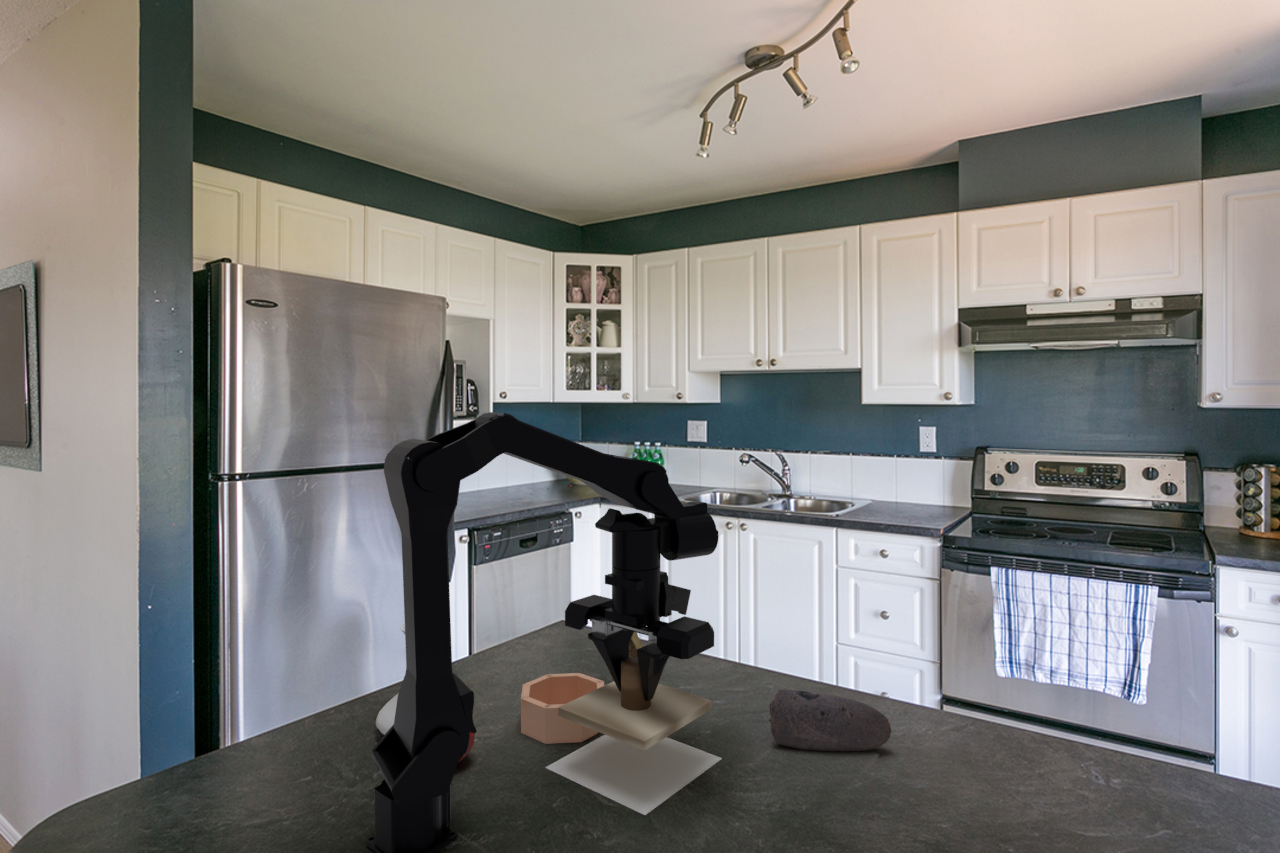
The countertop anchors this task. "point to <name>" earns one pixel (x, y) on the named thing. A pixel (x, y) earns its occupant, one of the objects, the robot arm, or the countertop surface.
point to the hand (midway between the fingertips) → (635, 695)
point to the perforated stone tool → (826, 722)
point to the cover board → (635, 709)
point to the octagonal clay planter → (554, 707)
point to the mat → (634, 770)
